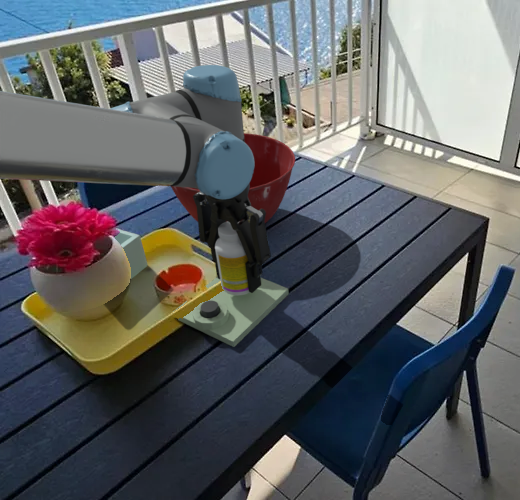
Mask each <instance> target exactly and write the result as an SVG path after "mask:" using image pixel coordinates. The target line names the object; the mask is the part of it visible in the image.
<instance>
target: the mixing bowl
mask: <svg viewBox="0 0 520 500" xmlns="http://www.w3.org/2000/svg"><path fill="white" fill-rule="evenodd" d="M244 140H245V143H246V144H247V145H248V146H249V148H250V149H251V151H252V153H253V157H254V170H253V174H252V178H251V181H250V183H249V184H250V189H249V192H248V199H249V201H250V203H251V206H252V207H253V208H255V209H257V210H260V209H264V210H265V212H266V216H265V224H266V223H267V222H269V221H270V220H271V219H272V218H273V217H274V215H275V214H276V212H277V211H278V209H279V207H280V206H281V204H282V203H283V200H284V197H285V195H286V192H287V190H288V187H289V183H290V181H291V177H292V172H293V168H294V166H295V164H296V156H295V155H296V154H295V152H294V151H293V150H292V149H291V147H290V146H288V144H285V143H284V142H283V141H280V140H279V139H275V138H273V137H269V136H266V135H262V134H256V133H247V132H244ZM170 187H171V190H172V192H173V193H174V195H175V196H176V198H177V199H178V201H179V202H180V203H181V205H182V207H183V208H184V209H185V210H186V211H187V213H188V214H189V215H190V216H191V217H192V218H193V219H194V220H195V222H197V223H198V217H197V207H196V204H195V202H194V199H193V195H195V194H197V193H198V192H200V190H199V189H196V188H190V187H174V186H170ZM242 220H243V219H242ZM242 220H241V221H242ZM226 222H227V221H226Z"/></svg>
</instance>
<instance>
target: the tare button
mask: <svg viewBox="0 0 520 500" xmlns="http://www.w3.org/2000/svg"><path fill="white" fill-rule="evenodd" d="M201 313H202V316H203V317H204V318H213V317H216V316H217V315H218V314H219V306H218V303H217V302H216V301H206V302H204V303H203V304H202V305H201Z"/></svg>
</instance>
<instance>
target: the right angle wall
mask: <svg viewBox="0 0 520 500" xmlns="http://www.w3.org/2000/svg"><path fill="white" fill-rule="evenodd" d="M117 229H118V230H119V231H120V233H119V234H118V235H117V236H115V239H116V240H117V241H118V242H119V243H120V244H121V246H122V247H123V249H124V251H125V253H126V256H127V258H128V261H129V263H130V267H131V280H132V279H133V278H135V277H136V276H137V275H138V274H139V273H141V272H142V271H144V269H146V268H147V267H148V266H149V264H148V261H147V260H148V259H147V257H146V253H145V249H144V245H143V242H142V237H141V235H140V234H137V233H134V232H130V231H126V230H124V229H119V228H117Z"/></svg>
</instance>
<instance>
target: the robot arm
mask: <svg viewBox="0 0 520 500" xmlns="http://www.w3.org/2000/svg"><path fill="white" fill-rule="evenodd" d="M182 82H183V83H182V87H183V88H181V89H177V90H175V91H172V92H168V93H163V94H160V95H156V96H155V95H154V96H151V97H146V98H143V99H139V100H135V101H126V102H125V103H123V104H120V105H116V106H114V107H111V108H108V107H107V108H105V107H99V106H94V105H87V104H82V103H76V102H71V101H70V102H69V101H64V100H57V99H52V98H46V97H41V96H34V95H27V94H22V93H15V92H9V91H3V90H0V180H19V181H20V180H23V181H44V182H67V183H87V184H90V183H91V184H107V185H108V184H112V185H132V186H153V187H156V186H157V187H171V186H174V187H190V188H196V189H199V190H200V192H198V193H197V194H195V195H193V199H194V202H195V204H196V207H197V217H198V222H197V225H198V234H199V235H198V236H199V241H200V242H201V243H202V244H204V243H206V244H207V247H208V248H209V249H210V254H211V259H212V261H213V262H214V265H215V271H216V272H215V273H216V277H217V278H218V279H220V274H219V268H218V262H217V256H216V251H215V243H216V241H217V239H218V238H219V233H218V228H219V226H220V225H221V224H222V223H224V222H226V221H228V222H230V224H231V226H232V229H233V230H236V232H237V234H238V237H239V239H240V242H241V244H242V246H243V249H244V251H245V254H246V256H247V258H248V261H247V262H246V263H245V265H246V273H247V281H248V289H249V292H251V293H253V292H254V291H255V290H256V289H257V288H259V287H260V286H261V278H262V277H261V276H262V275H263V271H264V270H263V265H264V264H265V263H266V262H267V261H269V259H271V257H272V254H271V249H270V243H269V238H268V231H267V227H266V226H267V225H266V223H265V216H266V212H265V210H264V209H260V210H257V209H255V208H253V207H252V206H251V203H250V201H249V199H248V192H249V189H250V184H249V183H250V181H251V178H252V174H253V170H254V157H253V153H252V151H251V149H250V148H249V146H248V145H247V144H246V143H245V140H244V133H245V129H244V120H243V118H244V117H243V109H242V97H241V91H240V85H239V81H238V76H237V74H236V72H235V71H234V70H233V69H231V68H229V67H226V66H224V65H220V64H219V65H217V64H202V65H196V66H193V67H191V68H189V69H186V70H185V71H184V73H183V75H182ZM242 219H243V220H242ZM241 220H242V221H241ZM238 222H239V223H238Z"/></svg>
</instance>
